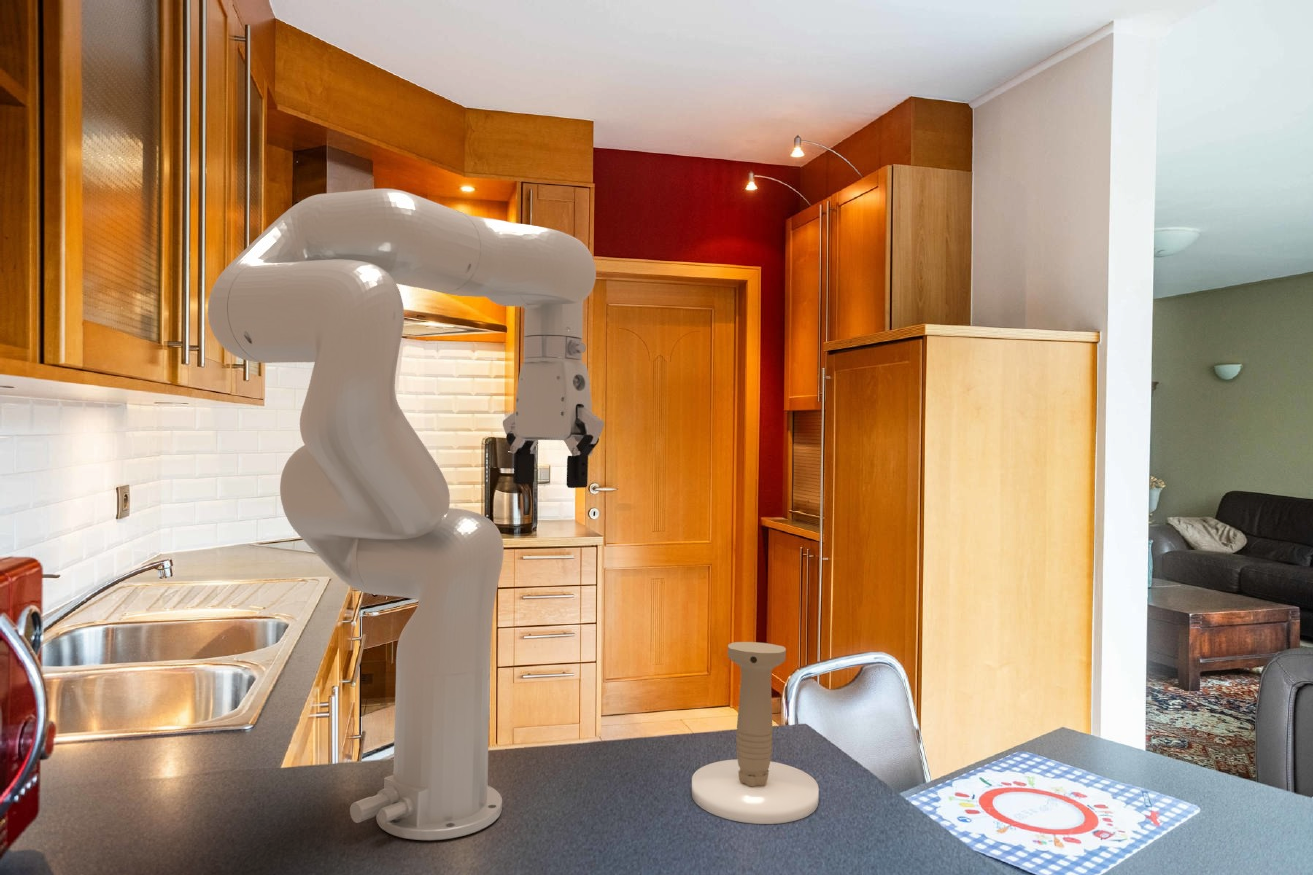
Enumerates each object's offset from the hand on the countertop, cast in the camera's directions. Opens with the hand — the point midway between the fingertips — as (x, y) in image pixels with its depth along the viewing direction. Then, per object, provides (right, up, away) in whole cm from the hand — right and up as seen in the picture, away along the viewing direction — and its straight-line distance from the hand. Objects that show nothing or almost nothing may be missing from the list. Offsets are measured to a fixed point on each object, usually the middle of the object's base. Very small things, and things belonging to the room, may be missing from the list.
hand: (549, 485), depth 111 cm
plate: (+25, -34, -15) cm, 45 cm away
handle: (+25, -32, -15) cm, 44 cm away
